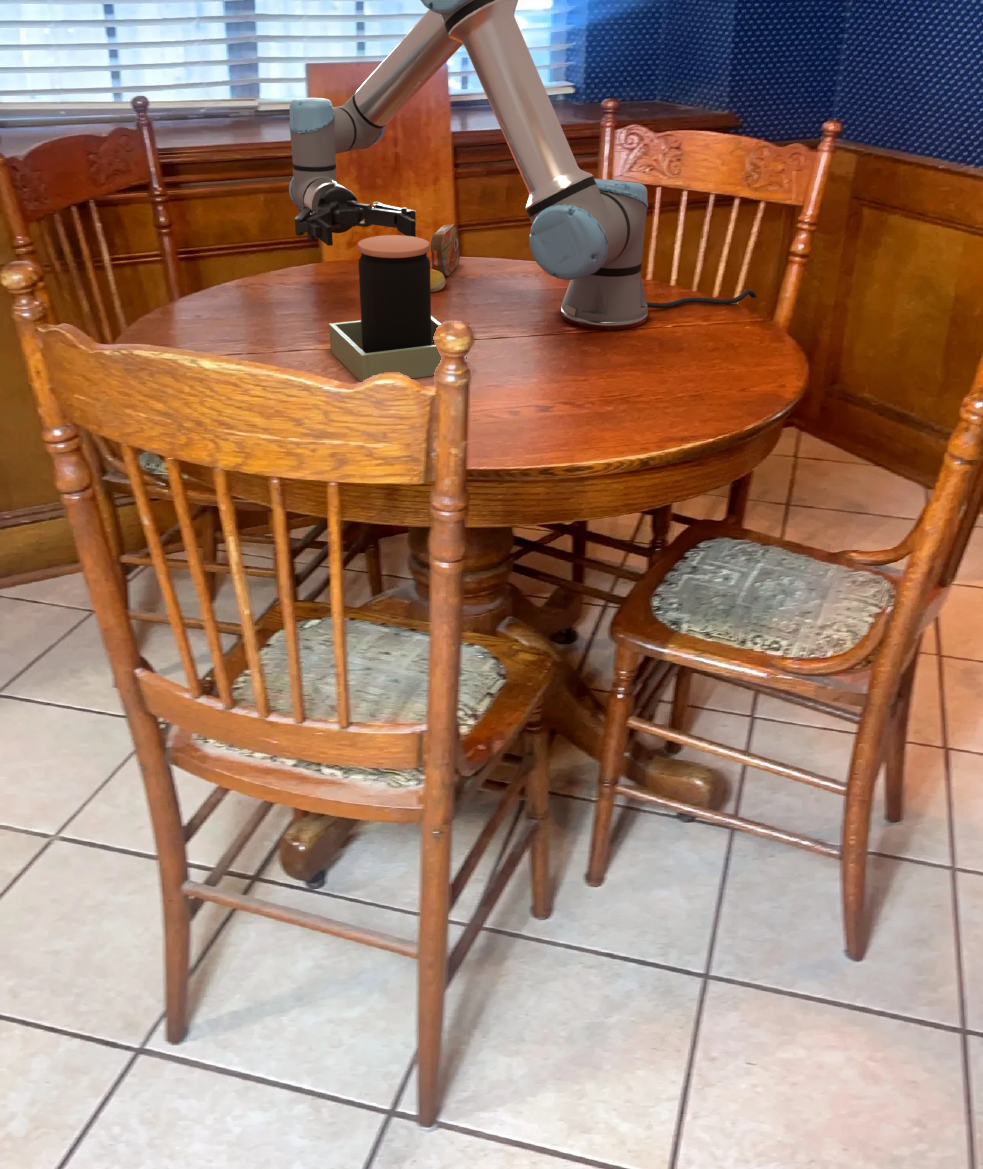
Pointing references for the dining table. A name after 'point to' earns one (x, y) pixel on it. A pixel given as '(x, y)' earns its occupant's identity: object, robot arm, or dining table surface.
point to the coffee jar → (394, 292)
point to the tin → (445, 249)
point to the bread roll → (436, 280)
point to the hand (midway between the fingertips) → (372, 233)
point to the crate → (381, 354)
